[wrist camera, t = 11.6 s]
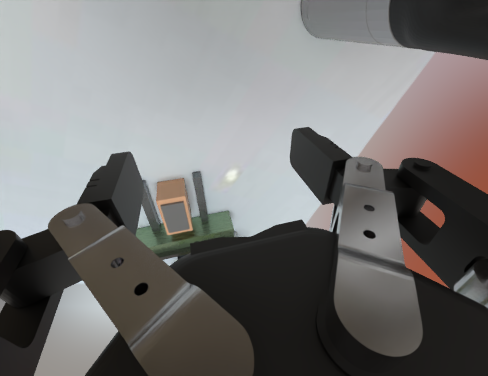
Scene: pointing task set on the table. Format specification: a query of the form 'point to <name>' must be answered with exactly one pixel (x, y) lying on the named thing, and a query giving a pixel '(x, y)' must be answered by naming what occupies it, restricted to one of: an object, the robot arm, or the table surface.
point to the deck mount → (180, 242)
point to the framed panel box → (174, 206)
